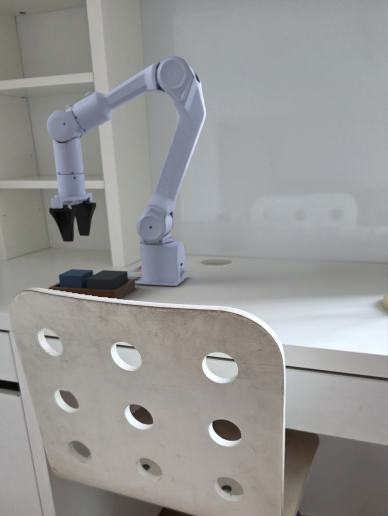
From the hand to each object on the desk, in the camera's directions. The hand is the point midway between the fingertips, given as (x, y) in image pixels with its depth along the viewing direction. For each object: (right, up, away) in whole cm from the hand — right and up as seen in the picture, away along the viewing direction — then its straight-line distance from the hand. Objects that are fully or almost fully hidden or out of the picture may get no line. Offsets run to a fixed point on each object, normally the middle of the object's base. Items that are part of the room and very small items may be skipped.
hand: (76, 238), depth 116 cm
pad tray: (+5, -13, -7) cm, 16 cm away
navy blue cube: (+2, -12, -7) cm, 14 cm away
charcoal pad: (+8, -13, -9) cm, 17 cm away
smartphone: (+15, -6, +9) cm, 19 cm away
